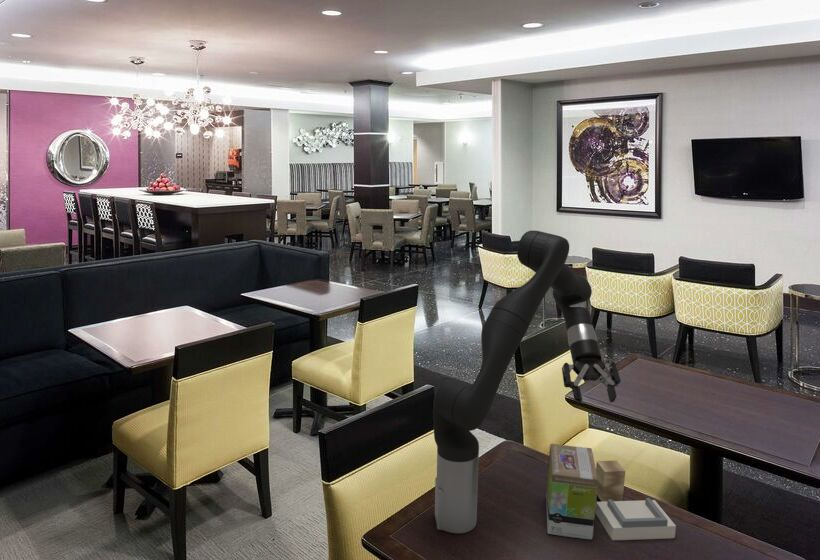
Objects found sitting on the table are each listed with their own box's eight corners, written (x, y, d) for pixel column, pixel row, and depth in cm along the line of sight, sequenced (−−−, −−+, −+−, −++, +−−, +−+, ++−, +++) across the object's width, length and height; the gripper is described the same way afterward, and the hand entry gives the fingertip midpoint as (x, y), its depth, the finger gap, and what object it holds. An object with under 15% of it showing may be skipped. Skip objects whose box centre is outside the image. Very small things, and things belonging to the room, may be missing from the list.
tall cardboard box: (601, 506, 142) (604, 471, 140) (594, 495, 147) (596, 461, 145) (622, 506, 142) (625, 471, 140) (613, 494, 147) (616, 460, 145)
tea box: (594, 541, 129) (599, 479, 126) (546, 535, 131) (550, 473, 128) (588, 502, 144) (592, 446, 141) (545, 497, 146) (548, 441, 143)
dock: (612, 540, 129) (613, 521, 129) (595, 513, 139) (596, 495, 138) (674, 538, 130) (676, 519, 129) (653, 511, 140) (655, 494, 139)
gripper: (561, 338, 157) (573, 396, 148) (614, 337, 158) (628, 395, 149) (554, 351, 163) (565, 407, 154) (604, 350, 164) (618, 406, 155)
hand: (596, 401), depth 152 cm, fingers open, 8 cm apart
